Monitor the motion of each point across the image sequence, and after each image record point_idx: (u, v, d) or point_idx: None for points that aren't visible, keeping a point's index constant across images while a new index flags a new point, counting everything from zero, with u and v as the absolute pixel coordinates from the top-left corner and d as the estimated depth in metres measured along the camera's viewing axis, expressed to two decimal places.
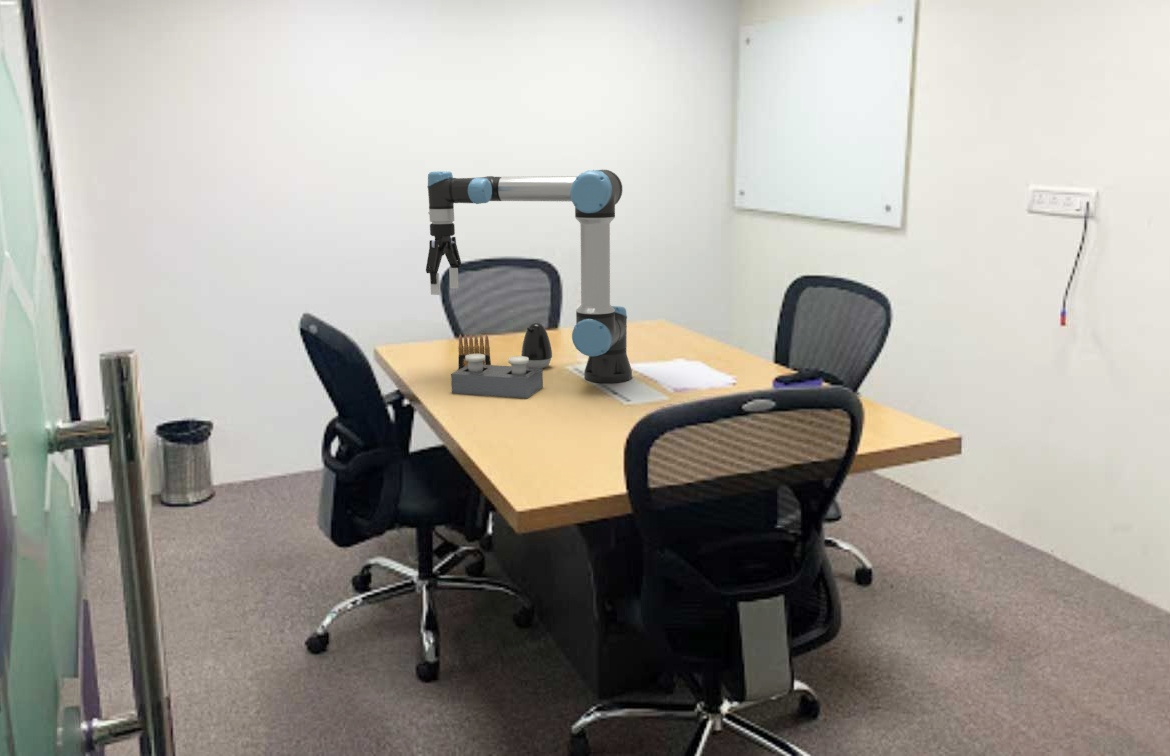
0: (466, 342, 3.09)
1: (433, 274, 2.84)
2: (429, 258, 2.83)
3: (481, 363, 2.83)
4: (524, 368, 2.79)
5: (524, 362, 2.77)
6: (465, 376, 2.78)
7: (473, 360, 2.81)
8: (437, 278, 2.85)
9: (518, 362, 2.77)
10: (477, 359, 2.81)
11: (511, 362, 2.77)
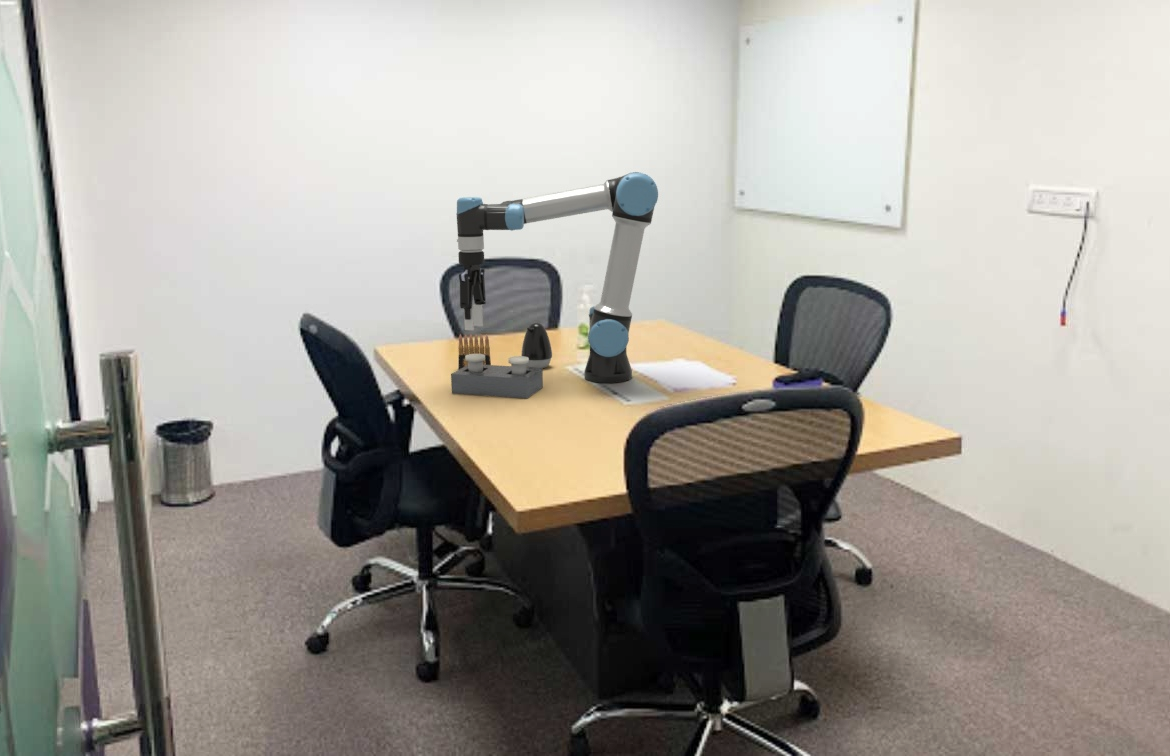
0: (466, 342, 3.09)
1: (467, 309, 2.75)
2: (461, 293, 2.73)
3: (481, 363, 2.83)
4: (524, 368, 2.79)
5: (524, 362, 2.77)
6: (465, 376, 2.78)
7: (473, 360, 2.81)
8: (471, 313, 2.76)
9: (518, 362, 2.77)
10: (477, 359, 2.81)
11: (511, 362, 2.77)
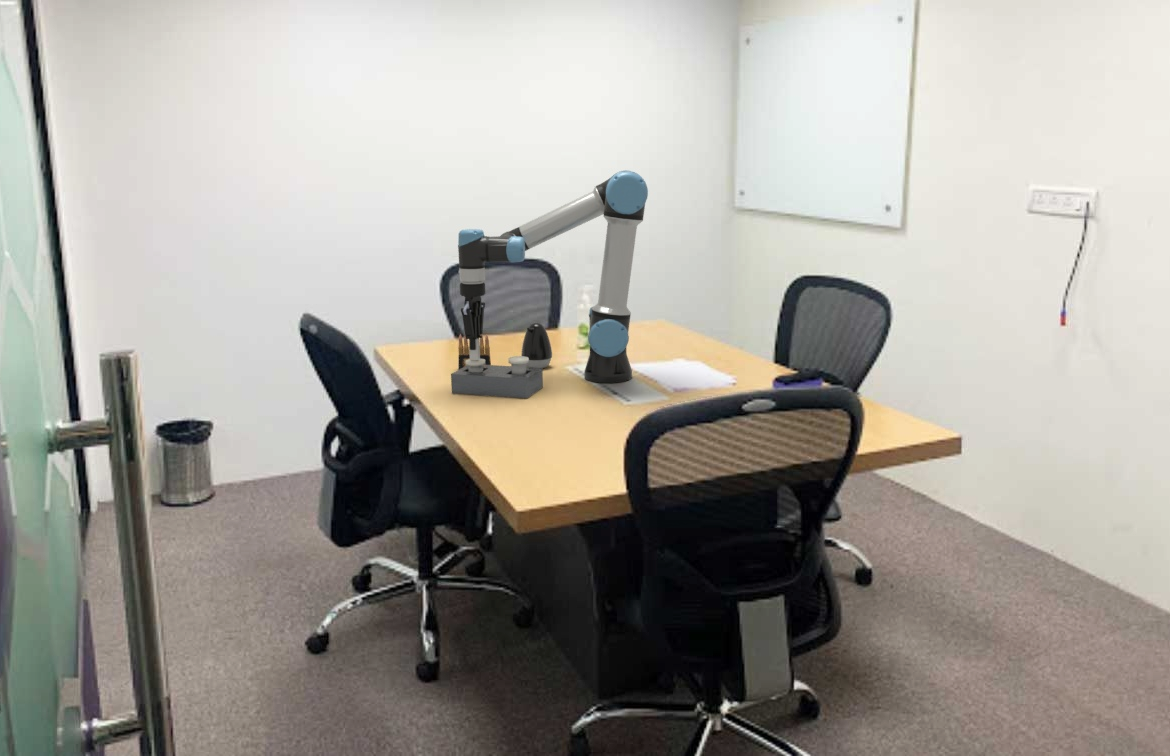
0: (466, 342, 3.09)
1: (472, 340, 2.80)
2: (465, 326, 2.77)
3: (481, 368, 2.83)
4: (524, 368, 2.79)
5: (524, 362, 2.77)
6: (465, 376, 2.78)
7: (473, 364, 2.81)
8: (476, 344, 2.82)
9: (518, 362, 2.77)
10: (477, 364, 2.81)
11: (511, 362, 2.77)
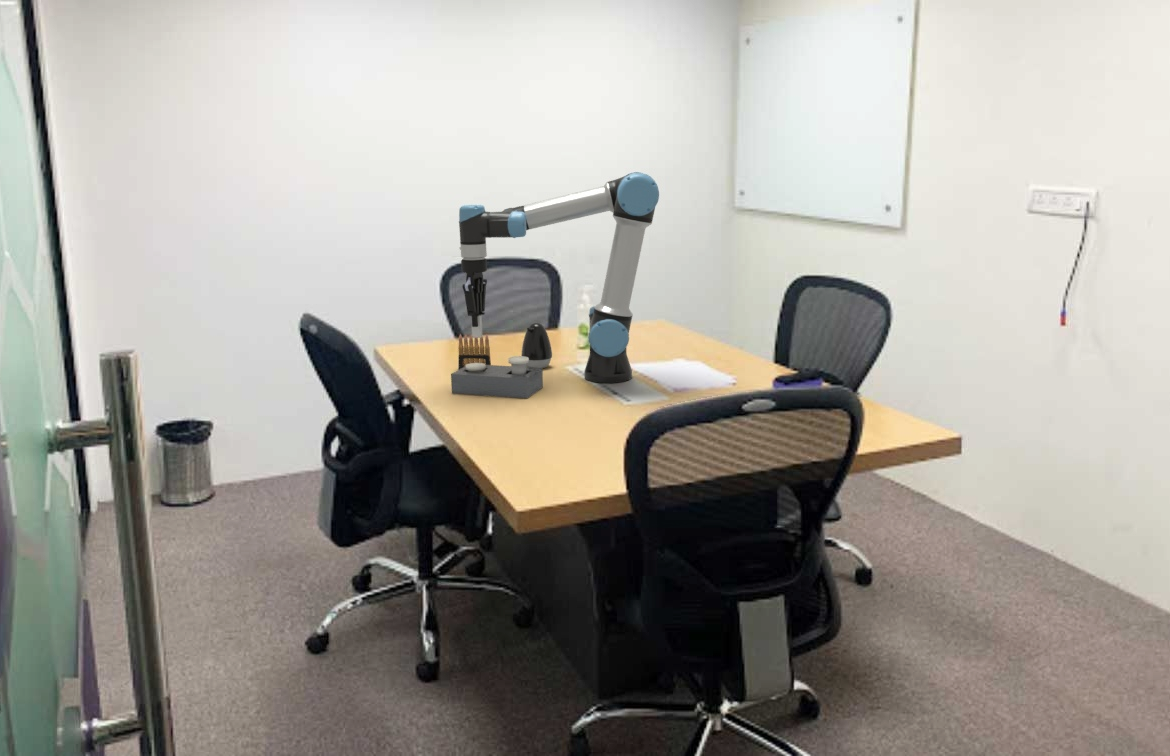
0: (466, 342, 3.09)
1: (475, 317, 2.78)
2: (467, 302, 2.75)
3: None
4: (524, 368, 2.79)
5: (524, 362, 2.77)
6: (465, 376, 2.78)
7: (473, 369, 2.81)
8: (479, 321, 2.80)
9: (518, 362, 2.77)
10: (477, 368, 2.81)
11: (511, 362, 2.77)
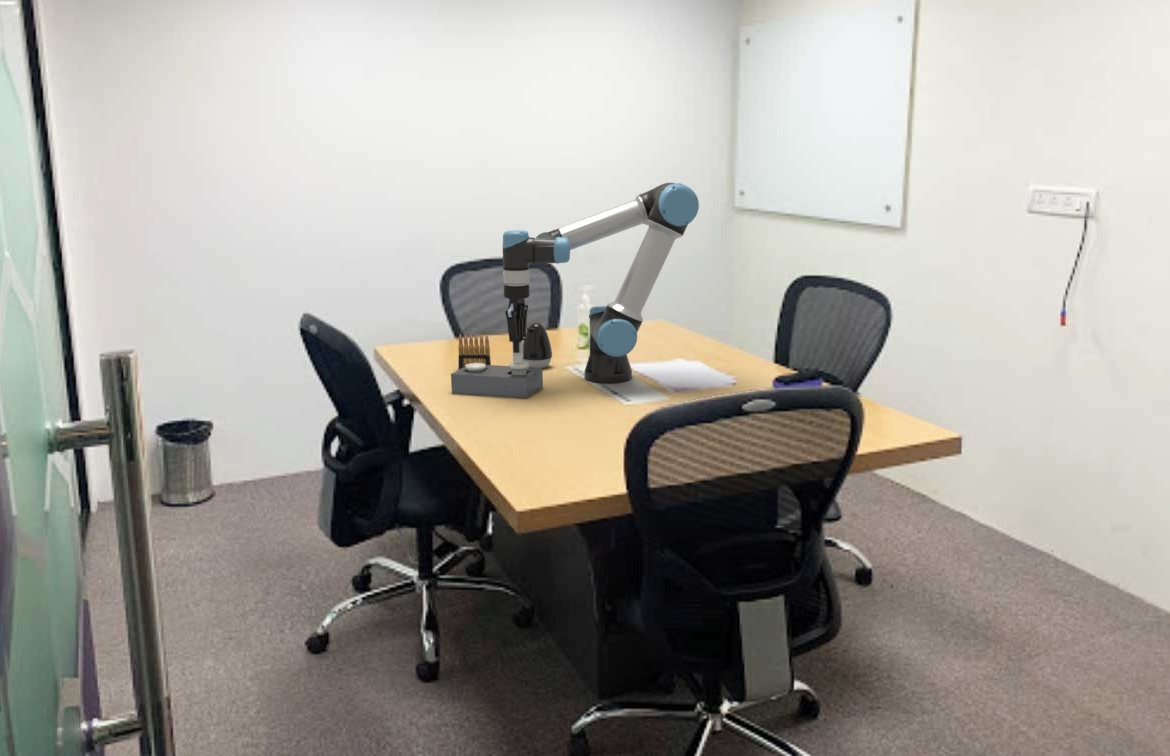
0: (466, 342, 3.09)
1: (516, 343, 2.76)
2: (509, 328, 2.73)
3: None
4: (525, 373, 2.79)
5: (524, 367, 2.78)
6: (465, 376, 2.78)
7: (473, 369, 2.81)
8: (520, 347, 2.78)
9: (518, 367, 2.77)
10: (477, 368, 2.81)
11: (511, 367, 2.78)
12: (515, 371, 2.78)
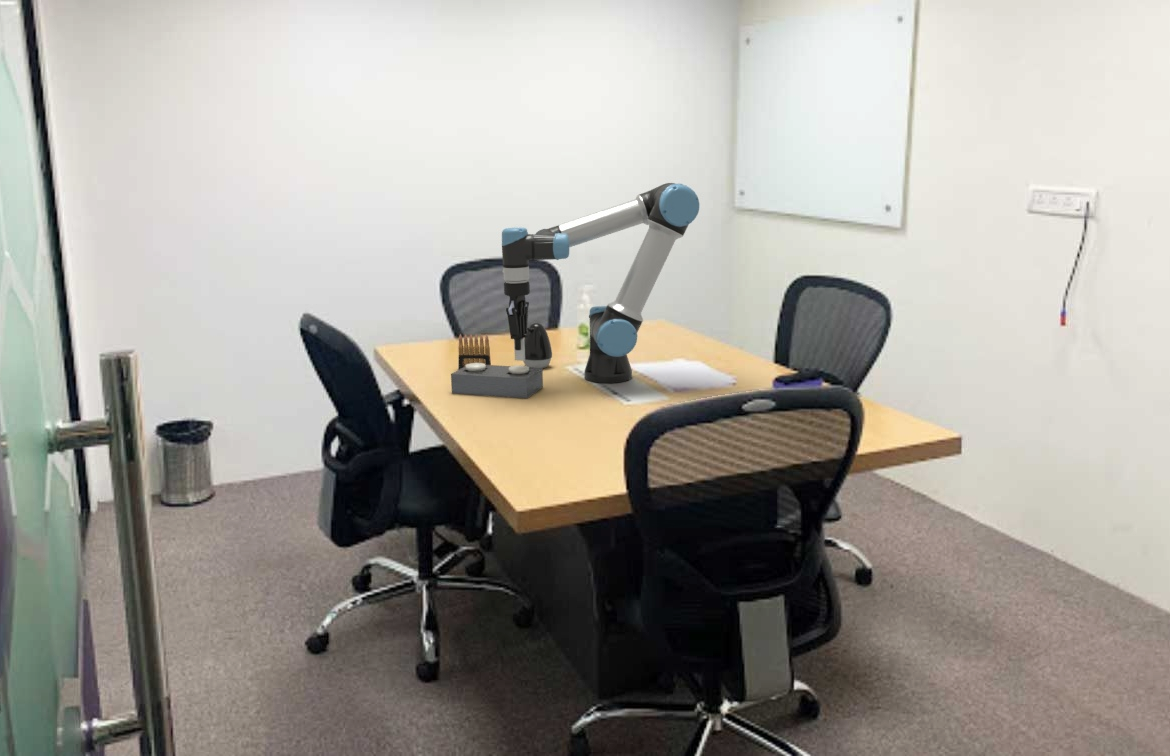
0: (466, 342, 3.09)
1: (518, 340, 2.76)
2: (511, 326, 2.73)
3: None
4: None
5: (524, 371, 2.78)
6: (465, 376, 2.78)
7: (473, 369, 2.81)
8: (521, 344, 2.77)
9: (518, 371, 2.77)
10: (477, 368, 2.81)
11: (511, 371, 2.78)
12: None
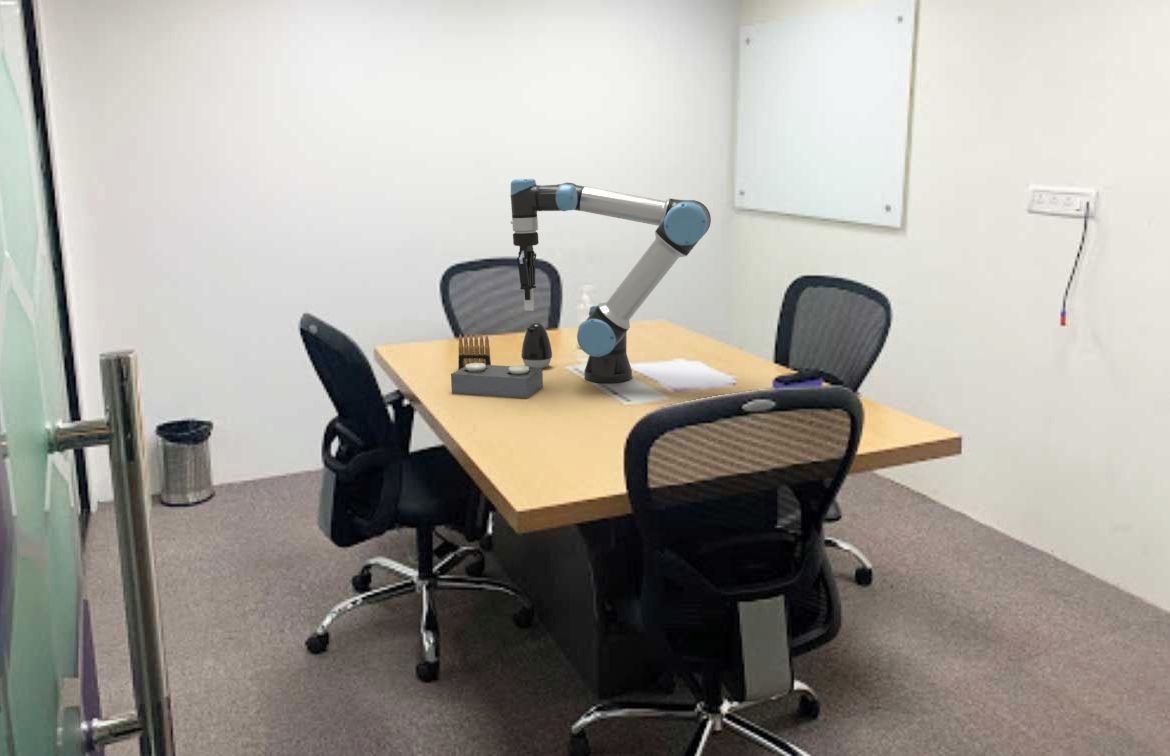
0: (466, 342, 3.09)
1: (527, 290, 2.81)
2: (521, 275, 2.78)
3: None
4: None
5: (524, 371, 2.78)
6: (465, 376, 2.78)
7: (473, 369, 2.81)
8: (531, 294, 2.82)
9: (518, 371, 2.77)
10: (477, 368, 2.81)
11: (511, 371, 2.78)
12: None
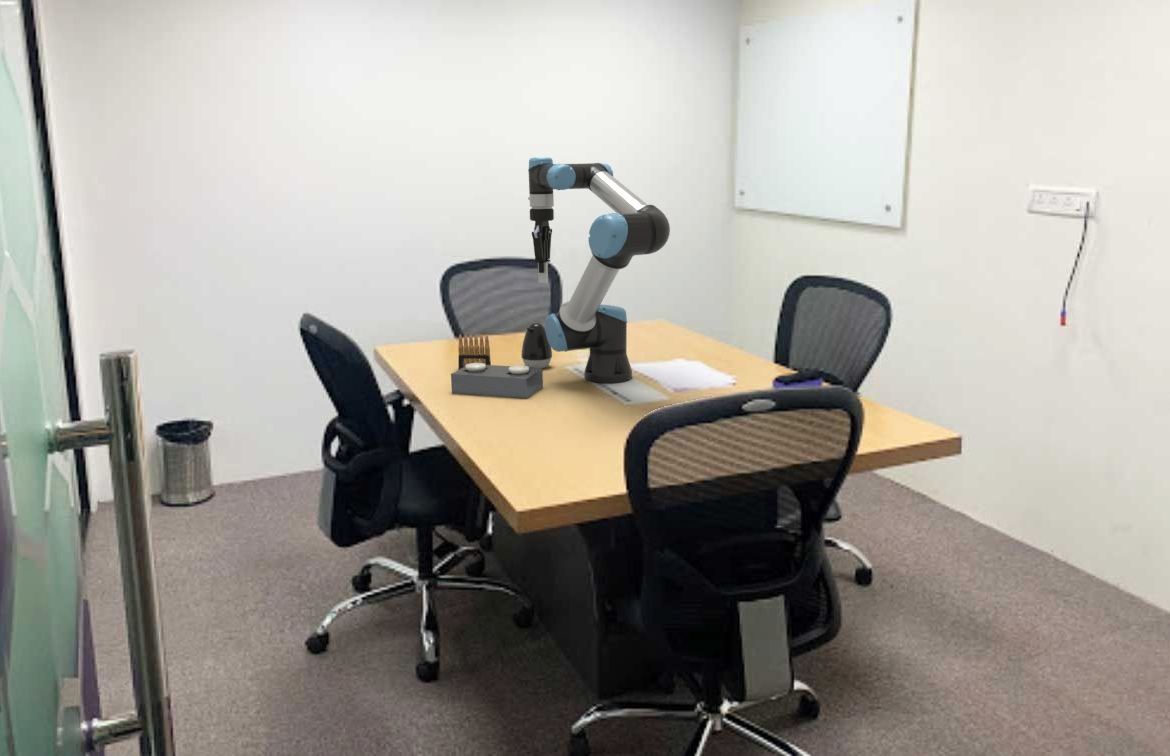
0: (466, 342, 3.09)
1: (541, 263, 2.96)
2: (535, 249, 2.93)
3: None
4: None
5: (524, 371, 2.78)
6: (465, 376, 2.78)
7: (473, 369, 2.81)
8: (545, 267, 2.97)
9: (518, 371, 2.77)
10: (477, 368, 2.81)
11: (511, 371, 2.78)
12: None
